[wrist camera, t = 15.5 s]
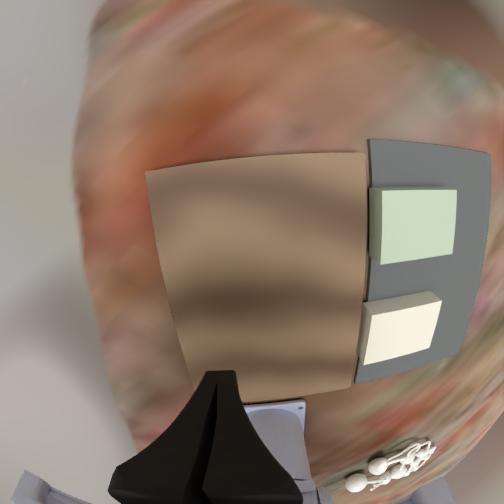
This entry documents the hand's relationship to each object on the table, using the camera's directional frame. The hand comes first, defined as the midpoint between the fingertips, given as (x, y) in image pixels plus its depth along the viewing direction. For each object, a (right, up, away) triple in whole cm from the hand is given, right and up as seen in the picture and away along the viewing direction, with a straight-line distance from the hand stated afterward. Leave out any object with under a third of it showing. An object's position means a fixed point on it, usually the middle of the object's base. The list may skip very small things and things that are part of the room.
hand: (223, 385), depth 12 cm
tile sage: (+13, +9, +7) cm, 17 cm away
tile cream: (+14, 0, +9) cm, 17 cm away
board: (+2, +3, +9) cm, 9 cm away
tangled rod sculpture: (+27, -30, +21) cm, 45 cm away
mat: (+17, +4, +9) cm, 20 cm away
